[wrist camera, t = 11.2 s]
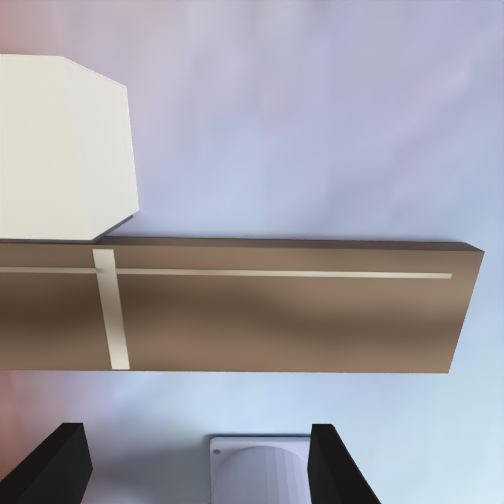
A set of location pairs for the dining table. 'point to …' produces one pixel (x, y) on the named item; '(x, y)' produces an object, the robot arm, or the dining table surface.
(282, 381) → the dining table surface
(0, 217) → the block
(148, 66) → the dining table surface
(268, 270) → the walnut board
